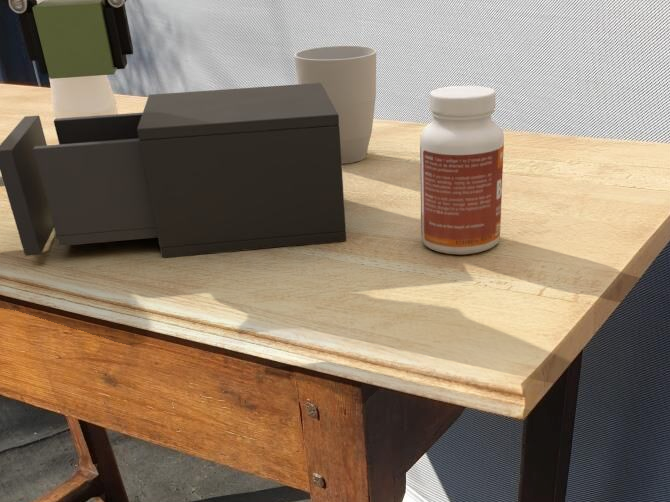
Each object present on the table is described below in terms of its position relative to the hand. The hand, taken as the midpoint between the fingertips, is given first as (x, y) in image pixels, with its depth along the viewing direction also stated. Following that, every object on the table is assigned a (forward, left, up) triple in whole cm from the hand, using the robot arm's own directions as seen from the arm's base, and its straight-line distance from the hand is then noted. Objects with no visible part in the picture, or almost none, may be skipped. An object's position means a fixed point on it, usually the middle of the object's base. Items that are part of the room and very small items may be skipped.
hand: (84, 65), depth 62 cm
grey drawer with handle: (-3, 0, -12) cm, 12 cm away
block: (0, 0, 0) cm, 0 cm away
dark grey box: (+11, 0, -13) cm, 17 cm away
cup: (+21, +19, -13) cm, 31 cm away
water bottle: (-7, +38, -13) cm, 41 cm away
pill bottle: (+27, -9, -13) cm, 31 cm away
